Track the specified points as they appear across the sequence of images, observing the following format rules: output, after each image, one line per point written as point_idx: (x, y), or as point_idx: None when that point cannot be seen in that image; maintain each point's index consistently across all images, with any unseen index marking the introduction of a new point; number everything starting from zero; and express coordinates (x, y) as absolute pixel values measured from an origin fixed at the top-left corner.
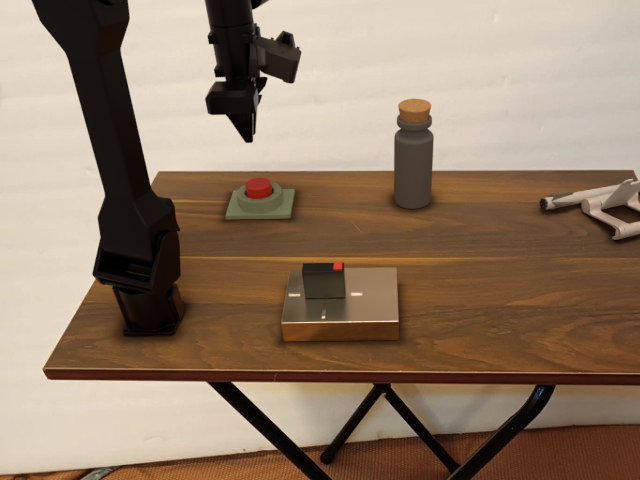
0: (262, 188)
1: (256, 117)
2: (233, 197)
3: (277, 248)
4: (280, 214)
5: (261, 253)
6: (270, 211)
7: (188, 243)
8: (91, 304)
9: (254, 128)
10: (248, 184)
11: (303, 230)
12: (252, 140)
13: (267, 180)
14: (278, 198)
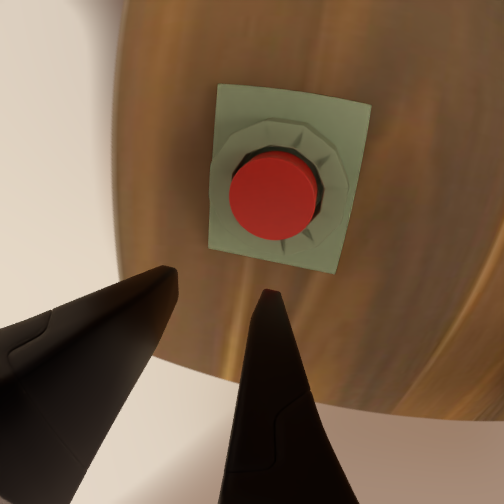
0: (309, 188)
1: (100, 294)
2: (247, 250)
3: (493, 163)
4: (366, 132)
5: (499, 202)
6: (343, 159)
7: (403, 337)
8: (478, 418)
9: (162, 285)
10: (273, 230)
11: (435, 81)
12: (281, 298)
13: (254, 168)
14: (317, 133)
